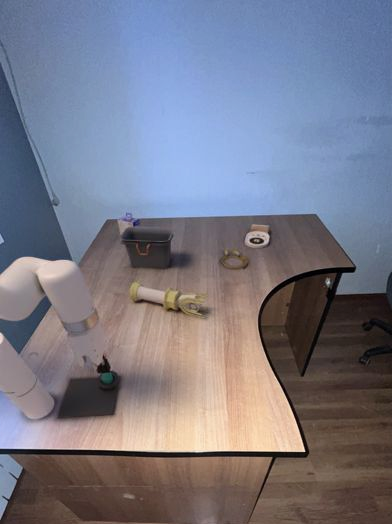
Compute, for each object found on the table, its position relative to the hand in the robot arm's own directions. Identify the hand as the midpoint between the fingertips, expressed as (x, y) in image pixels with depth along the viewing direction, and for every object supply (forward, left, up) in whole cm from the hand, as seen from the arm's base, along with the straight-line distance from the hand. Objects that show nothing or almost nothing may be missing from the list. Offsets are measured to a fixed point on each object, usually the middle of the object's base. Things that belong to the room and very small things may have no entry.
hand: (104, 370), depth 71 cm
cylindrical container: (-18, -6, -7) cm, 20 cm away
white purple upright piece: (-4, +89, -7) cm, 89 cm away
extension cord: (+45, +66, -7) cm, 80 cm away
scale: (-5, -4, -7) cm, 9 cm away
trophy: (+16, +34, -7) cm, 39 cm away
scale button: (0, 0, -4) cm, 4 cm away
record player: (+60, +87, -7) cm, 106 cm away
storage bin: (+7, +66, -7) cm, 67 cm away
